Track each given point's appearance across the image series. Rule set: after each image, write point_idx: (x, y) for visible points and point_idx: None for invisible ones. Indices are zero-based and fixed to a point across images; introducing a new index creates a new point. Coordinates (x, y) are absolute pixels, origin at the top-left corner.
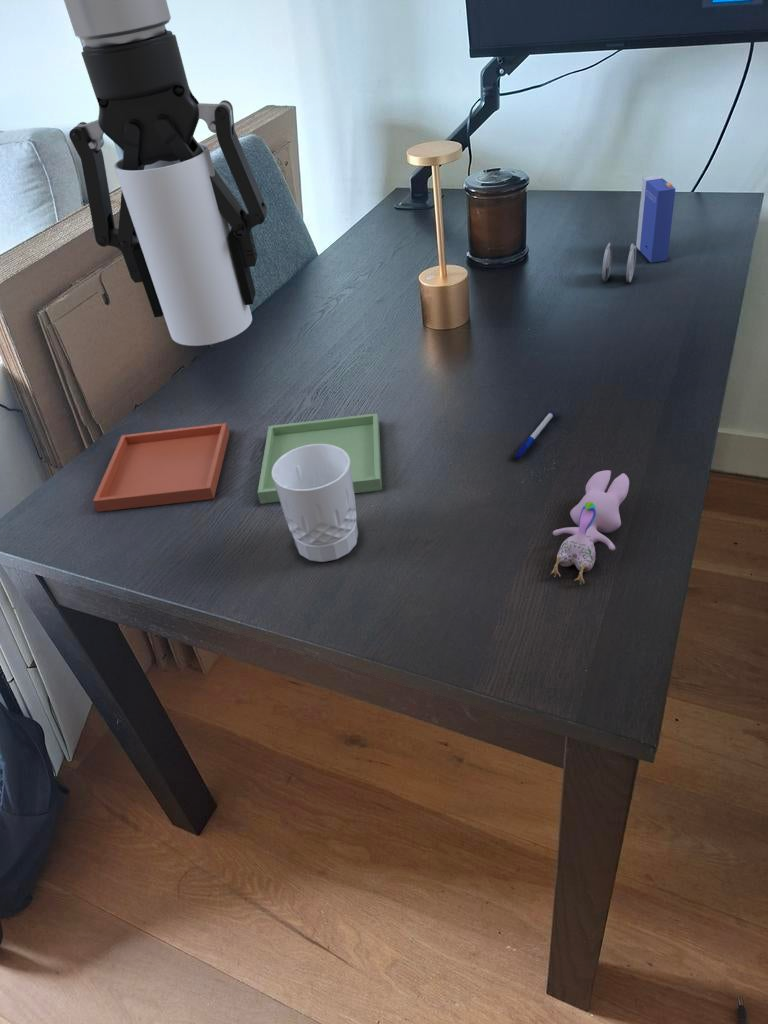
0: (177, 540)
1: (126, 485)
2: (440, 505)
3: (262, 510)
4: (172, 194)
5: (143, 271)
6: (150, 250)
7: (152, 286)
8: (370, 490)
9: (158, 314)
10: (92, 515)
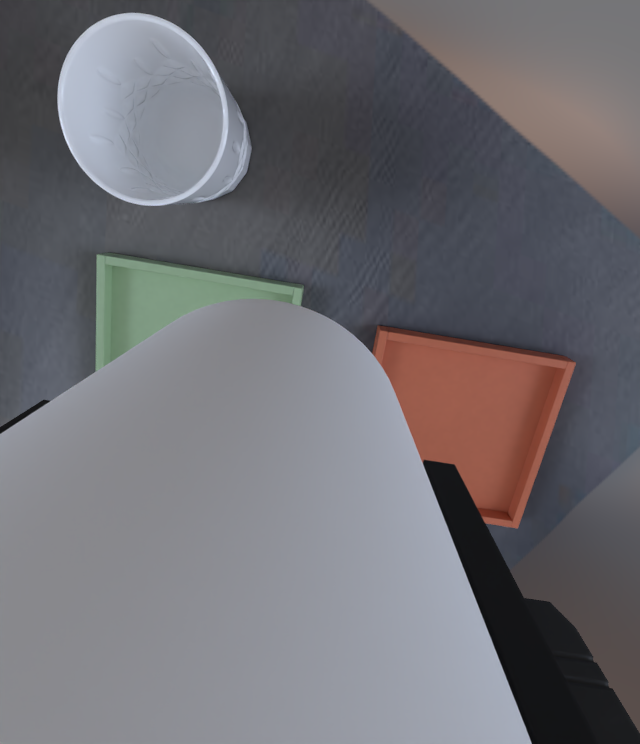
0: (442, 235)
1: (516, 403)
2: (15, 179)
3: (302, 267)
4: None
5: (507, 618)
6: (457, 642)
7: (455, 546)
8: (124, 255)
9: (438, 466)
10: (573, 350)
